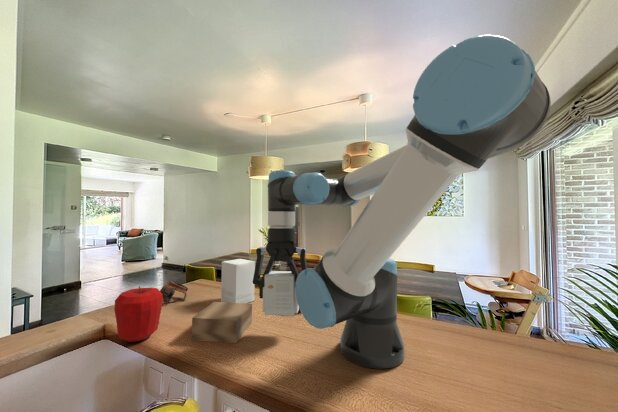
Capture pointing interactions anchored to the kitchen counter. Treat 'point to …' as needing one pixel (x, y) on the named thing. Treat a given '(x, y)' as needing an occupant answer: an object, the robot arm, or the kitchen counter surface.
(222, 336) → the walnut block
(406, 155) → the robot arm
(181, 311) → the kitchen counter surface
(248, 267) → the supplement box
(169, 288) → the brown grey ring
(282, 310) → the small box
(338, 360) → the kitchen counter surface
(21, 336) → the kitchen counter surface
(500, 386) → the kitchen counter surface
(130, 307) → the apple
